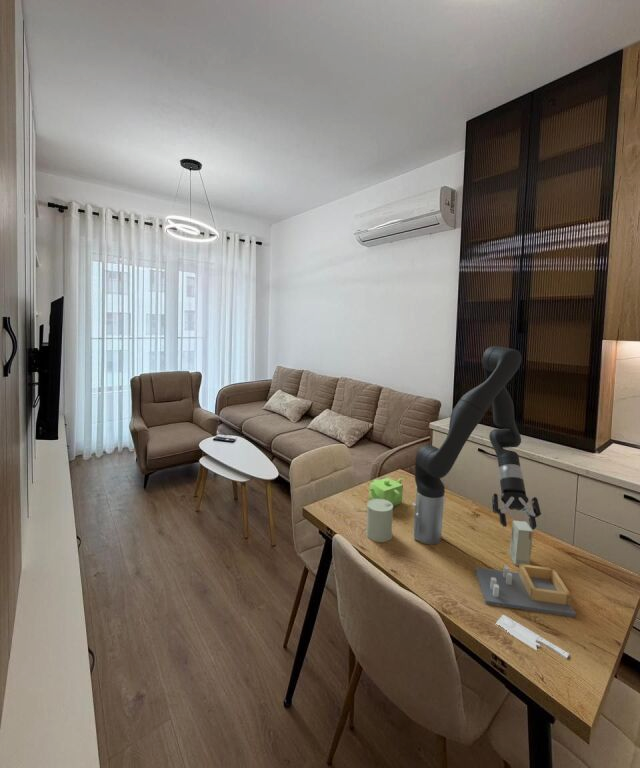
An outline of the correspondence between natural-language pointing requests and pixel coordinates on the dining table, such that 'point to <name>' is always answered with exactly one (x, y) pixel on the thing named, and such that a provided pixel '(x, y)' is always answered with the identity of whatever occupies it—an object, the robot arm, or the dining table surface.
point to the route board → (526, 589)
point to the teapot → (387, 490)
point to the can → (379, 520)
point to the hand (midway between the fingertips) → (518, 527)
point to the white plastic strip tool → (527, 635)
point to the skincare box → (521, 543)
